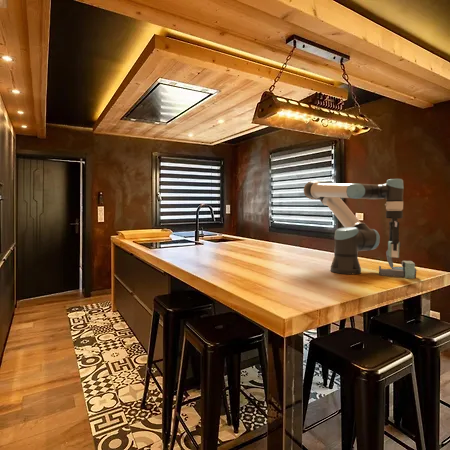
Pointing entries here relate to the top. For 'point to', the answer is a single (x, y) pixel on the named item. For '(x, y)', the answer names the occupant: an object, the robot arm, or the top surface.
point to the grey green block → (391, 249)
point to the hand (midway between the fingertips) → (393, 256)
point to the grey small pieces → (392, 263)
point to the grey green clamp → (400, 271)
